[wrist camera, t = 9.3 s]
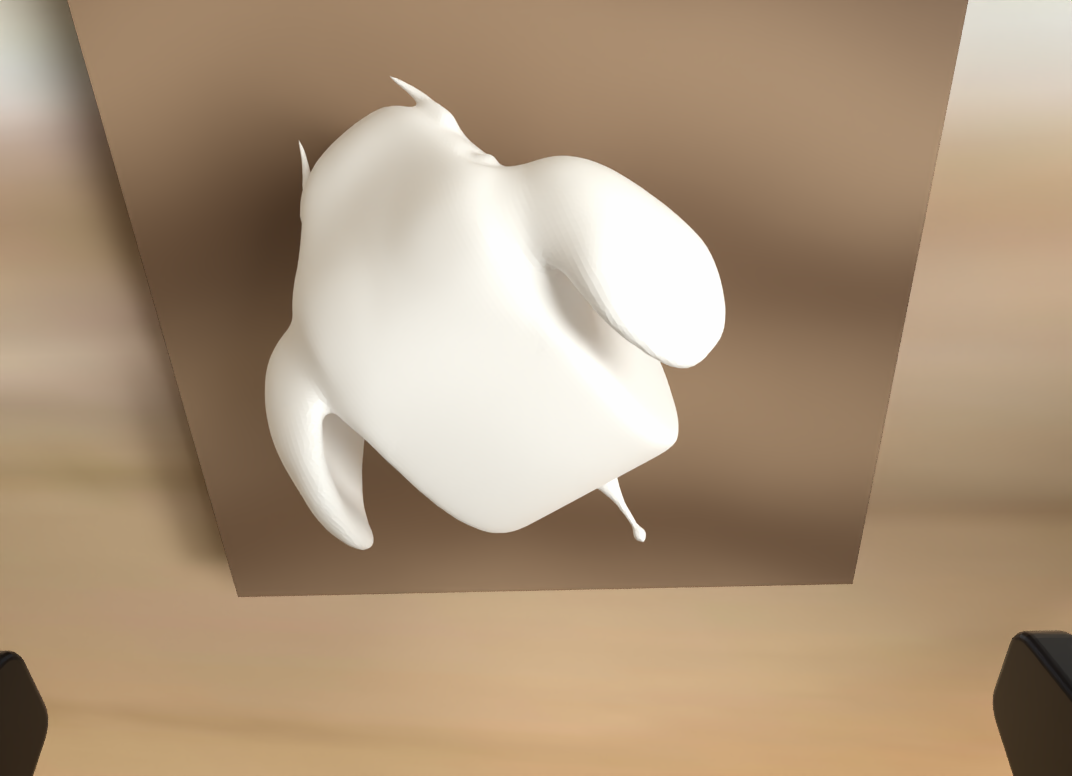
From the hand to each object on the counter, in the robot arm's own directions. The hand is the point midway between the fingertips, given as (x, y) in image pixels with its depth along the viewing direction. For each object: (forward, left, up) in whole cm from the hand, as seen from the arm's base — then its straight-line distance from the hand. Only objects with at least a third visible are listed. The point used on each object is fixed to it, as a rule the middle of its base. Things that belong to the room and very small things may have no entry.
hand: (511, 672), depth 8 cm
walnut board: (0, 0, -11) cm, 11 cm away
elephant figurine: (0, 0, -10) cm, 10 cm away
